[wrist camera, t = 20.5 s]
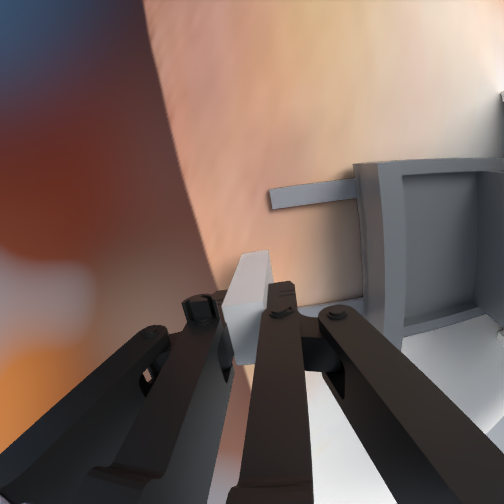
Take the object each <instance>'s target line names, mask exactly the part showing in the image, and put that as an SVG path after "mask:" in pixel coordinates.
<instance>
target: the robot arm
mask: <svg viewBox="0 0 504 504" xmlns="http://www.w3.org/2000/svg"><path fill="white" fill-rule="evenodd" d="M182 306H183V310H184V313H185V316H186V320H187V324H186V325H185V327H184V329H183V331H181V332H178V333H174V334H169V333H168V331H167V328H166V327H165V326H161V325H152V326H148V327H147V328H144V329H142V330H141V331H139V332H138V333H137V334H136V335H134V336H133V337H132V338H131V339H130V340H129V341H128V342H126V343H125V344H124V345H123V346H122V347H121V348H120V349H118V350H117V351H116V352H115V353H114V354H112V355H111V356H110V357H109V358H108V359H107V360H106V361H104V362H103V363H102V364H101V365H100V366H99V367H98V368H96V369H95V370H94V371H93V372H92V373H91V374H90V375H88V376H87V377H86V378H85V379H84V380H83V381H82V382H80V383H79V384H78V385H77V386H76V387H75V388H74V389H72V390H71V391H70V392H69V393H68V394H67V395H66V396H65V397H63V398H62V399H61V400H60V401H59V402H58V403H57V404H56V405H54V406H53V407H52V408H51V409H50V410H49V411H48V412H46V413H45V414H44V415H43V416H42V417H41V418H40V419H39V420H38V421H36V422H35V423H34V424H33V425H32V426H31V427H30V428H29V429H28V430H26V431H25V432H24V433H23V434H22V435H21V436H20V437H19V438H18V439H17V440H16V441H14V442H13V443H12V444H11V445H10V446H9V447H8V448H6V450H4V451H3V452H2V453H1V454H0V504H207V499H208V495H209V489H210V486H211V481H212V477H213V472H214V467H215V463H216V458H217V453H218V449H219V444H220V439H221V435H222V430H223V425H224V420H225V416H226V411H227V406H228V402H229V397H230V392H231V388H232V383H233V378H234V367H233V364H232V360H233V356H234V358H235V362H236V365H249V364H255V368H254V376H253V384H252V391H251V399H250V407H249V414H248V421H247V429H246V435H245V442H244V449H243V456H242V463H241V470H240V476H239V481H238V484H237V486H234V487H232V488H231V489H230V491H229V493H228V497H227V501H226V504H314V495H313V475H312V457H311V442H310V428H309V416H308V404H307V392H306V381H305V371H316V372H322V376H323V378H324V380H325V382H326V384H327V385H328V387H329V389H330V390H331V392H332V394H333V395H334V397H335V399H336V401H337V402H338V404H339V406H340V407H341V409H342V411H343V412H344V414H345V416H346V417H347V419H348V421H349V423H350V424H351V426H352V428H353V429H354V431H355V433H356V434H357V436H358V438H359V439H360V441H361V443H362V444H363V446H364V448H365V450H366V451H367V453H368V455H369V456H370V458H371V460H372V461H373V463H374V465H375V466H376V468H377V470H378V471H379V473H380V475H381V477H382V478H383V480H384V482H385V483H386V485H387V487H388V488H389V490H390V492H391V493H392V495H393V497H394V498H395V500H396V502H397V503H398V504H504V454H503V453H502V452H501V450H500V449H499V448H498V447H497V446H496V445H495V444H494V443H493V442H492V441H491V440H490V439H489V438H488V437H487V436H486V435H485V434H484V433H483V432H482V431H481V430H480V429H479V428H478V427H477V426H476V425H475V424H474V423H473V422H472V421H471V420H470V419H469V418H468V417H467V416H466V415H465V414H464V413H463V412H462V411H461V410H460V409H459V408H458V407H457V406H456V405H455V404H454V403H453V402H452V401H451V400H450V399H449V398H448V397H447V396H446V395H445V394H444V393H443V392H442V391H441V390H440V389H439V388H438V387H437V386H436V385H435V384H434V383H433V382H432V381H431V380H430V379H429V378H428V377H427V376H426V375H425V374H424V373H423V372H422V371H420V370H419V369H418V368H417V367H416V366H415V365H414V364H413V363H412V362H411V361H410V360H409V359H408V358H407V357H406V356H405V355H404V354H403V353H402V352H400V351H399V350H398V349H397V348H396V347H395V346H394V345H393V344H392V343H391V342H390V341H389V340H388V339H387V338H386V337H385V336H383V335H382V334H381V333H380V332H379V331H378V330H377V329H376V328H375V327H374V326H373V325H372V324H370V323H369V322H368V321H367V320H366V319H365V318H364V317H363V316H362V315H361V314H360V313H359V312H357V311H356V310H355V309H354V308H352V307H351V306H347V305H343V304H335V305H332V306H328V307H326V308H323V309H322V310H321V311H320V312H319V314H318V317H308V316H304V315H302V314H301V313H299V312H298V309H297V301H296V293H295V286H294V284H293V283H292V282H290V281H285V282H277V283H274V281H273V275H272V268H271V262H270V256H269V250H264V251H257V252H250V253H243V254H242V256H241V258H240V261H239V263H238V266H237V268H236V271H235V273H234V276H233V278H232V281H231V284H230V286H229V289H228V290H221V291H216V292H215V293H213V294H212V295H211V294H199V295H195V296H192V297H189V298H187V299H186V300H184V301H183V302H182ZM146 369H148V371H149V373H150V375H151V377H152V379H151V380H150V381H149V382H147V381H146V379H145V377H144V375H143V372H144V371H145V370H146Z"/></svg>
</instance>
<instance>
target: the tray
mask: <svg viewBox="0 0 504 504" xmlns="http://www.w3.org/2000/svg"><path fill="white" fill-rule="evenodd" d="M353 169H354V177H355V185H356V193H357V202H358V212H359V222H360V234H361V249H362V267H363V301H364V318H365V319H366V320H367V321H368V322H369V323H370V324H372V325H373V326H374V327H375V328H376V329H377V330H378V331H379V332H380V333H381V334H382V335H383V336H385V337H386V338H387V339H388V340H389V341H390V342H391V343H392V344H393V345H394V346H395V347H396V348H397V349H398V350H399V351H400V352H401V346H402V337H406V336H411V335H415V334H419V333H423V332H426V331H430V330H434V329H438V328H441V327H445V326H448V325H452V324H455V323H458V322H462V321H465V320H468V319H471V318H474V317H477V316H480V315H483V314H487V315H488V316H490V317H491V318H492V319H493V320H494V321H495V322H496V323H498V324H499V325H500V326H501V327H502V328H503V329H504V158H435V159H412V160H395V161H381V162H369V163H358V164H353Z"/></svg>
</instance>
